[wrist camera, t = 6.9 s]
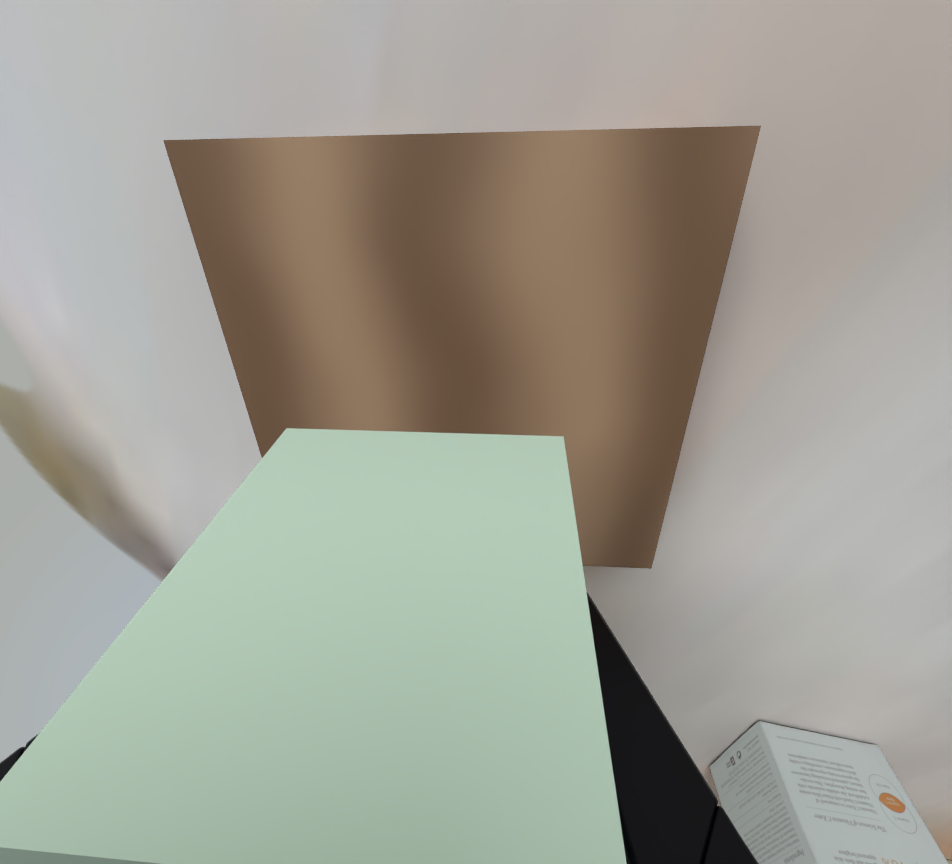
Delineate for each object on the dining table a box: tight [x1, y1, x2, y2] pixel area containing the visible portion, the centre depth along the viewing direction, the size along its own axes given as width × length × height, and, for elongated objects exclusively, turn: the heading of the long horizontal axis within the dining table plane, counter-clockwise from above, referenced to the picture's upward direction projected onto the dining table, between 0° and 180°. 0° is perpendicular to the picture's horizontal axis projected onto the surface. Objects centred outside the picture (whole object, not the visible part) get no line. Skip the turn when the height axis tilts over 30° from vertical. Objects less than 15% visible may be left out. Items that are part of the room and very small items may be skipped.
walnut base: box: [164, 126, 761, 568], centre depth 16 cm, size 14×14×4 cm
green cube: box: [0, 428, 627, 864], centre depth 7 cm, size 5×5×6 cm
